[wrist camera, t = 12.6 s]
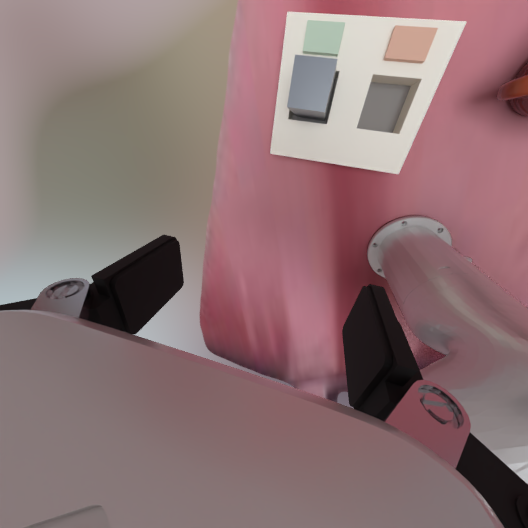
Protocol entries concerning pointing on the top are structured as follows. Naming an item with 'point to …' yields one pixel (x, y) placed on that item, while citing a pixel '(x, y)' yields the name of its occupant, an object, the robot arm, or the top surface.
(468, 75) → the top surface
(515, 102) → the mug
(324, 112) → the dark grey rectangular prism
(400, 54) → the socket block
